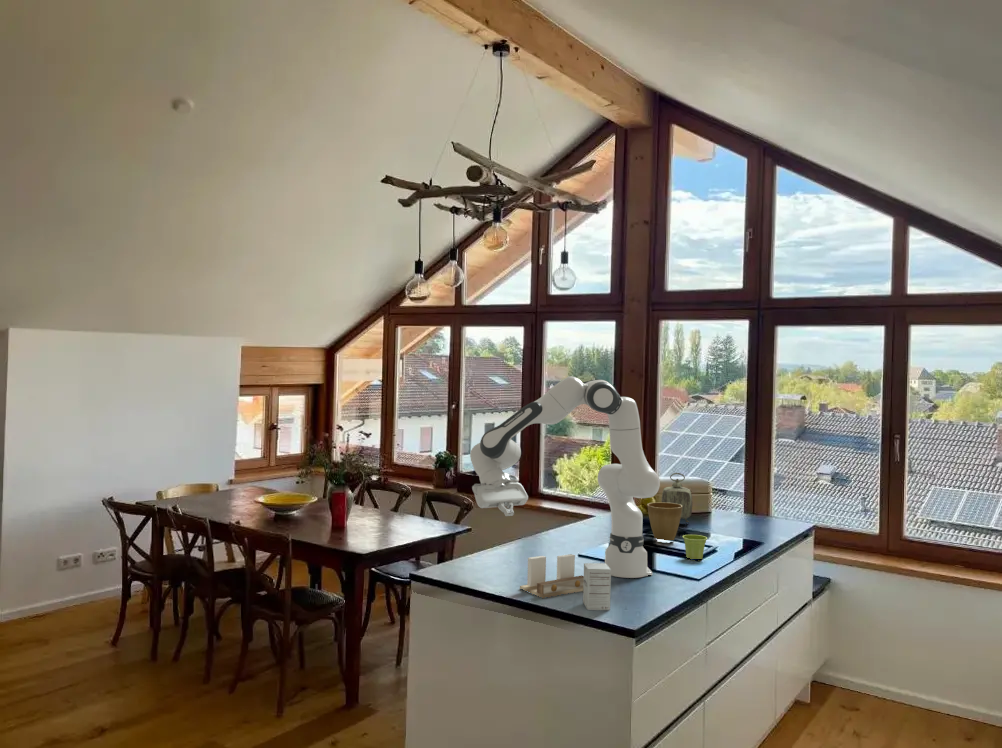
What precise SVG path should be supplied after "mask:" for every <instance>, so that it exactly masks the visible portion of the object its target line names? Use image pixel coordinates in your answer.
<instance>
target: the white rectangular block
mask: <svg viewBox="0 0 1002 748" xmlns="http://www.w3.org/2000/svg"><path fill="white" fill-rule="evenodd" d="M546 567H547V557H546V556H544V555H540V556H539V555H537V556H531V557H527V577H526V578H527V584H526V585H528V586H531V587H532V586H537V583H540V582H546V572H547V569H546Z"/></svg>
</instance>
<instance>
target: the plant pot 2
mask: <svg viewBox="0 0 1002 748" xmlns="http://www.w3.org/2000/svg"><path fill="white" fill-rule="evenodd" d="M682 538H683V541H684V548H685V555H686V556H685V557H687V558H690V559H702V560H703V557H704V551H705V546H706V543H707V540H708V537H707V536H704V535H699V534H685V535H684V534H683V535H682ZM687 558H686V559H687ZM690 559H689V560H690Z"/></svg>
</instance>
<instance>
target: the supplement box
mask: <svg viewBox="0 0 1002 748" xmlns="http://www.w3.org/2000/svg"><path fill="white" fill-rule="evenodd" d="M583 576H584V582H583V591H582V603H583V604H584V606H585V609H586V610H587V611H610V610H611V586H612V585H611V584H612V582H611V581H612V575H611V569H610V568H609V567H608V565H607V564H605V562H604V563H602V562H600V563H599V562H598V563H597V562H596V563H594V562H593V563H591V562H590V563H589V562H587V563H586V562H585V563H583Z"/></svg>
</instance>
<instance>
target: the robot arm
mask: <svg viewBox="0 0 1002 748" xmlns="http://www.w3.org/2000/svg"><path fill="white" fill-rule="evenodd" d="M582 405H586V406H588V407H589V408H590V409H591V410H594V411H595V412H598V413H603V414H606V415H607V417H608V429H609V444H610V445H609V446H610V450H611V452H612V453H613V454H614V455H615V456H616V457H617V459H618V460H619V462H620V463H610V464H605V465H603V466H601V468H600V469H599V471H598V474H597V482H598V486H599V487H600V489H602V491H603V492H604V494H605V495H606V499H607V501H608V504H609V507H610V512H611V513H610V515H611V520H610V521H611V524H610V525H611V528H610V529H611V532H610V534H609V546H607V547H606V549H605V551H604V557H605V558H604V563H605V564H607V565H608V567H609V568H610V569H611V577H616V578H617V577H618V578H625V579H626V578H627V579H629V578H630V579H634V578H635V579H637V578H643V577H649V576H648V575H651V576H653V571H652V570H651V569H650V568H649V567H648V564H649V563H648V551H647V550H646V549H645V548H644V546H643V545H644V540H645V539H644V535H643V525H644V524H643V523H644V522H643V519H644V518H643V516H644V515H643V513H642V511H641V509H640V508H639V507H638V506H637V505H636V502H635V500H634V498H637V499H647V498H648V499H650V498H653V497H655V496H656V495H657V493H658V492H659V490H660V487H661V481H660V477H659V474H658V473H657V472H656V471H655V470H654V469H653V468H652V467H651V465H650V464H649V462H648V461H647V458H646V455H645V452H644V450H643V443H642V434H641V420H640V414H639V409H638V405H637V402H636V400H634V399H633V398H631V397H629V396H621V395H620V394H619V392H618V391H617V389H616V387H615V386H613V385H612V384H611V383H610V382H608V381H607V380H604V379H597V378H596V379H591V380H587V381H582V380H580V378H578V377H577V376H574V375H573V376H572V375H569V376H567V377H565V378H564V379H562V380H560V381H559V382H557V383H555V384H554V386H552V387H551V388H550V389H549V390H548V391H547V392H545V393H544V394H543V395H542V396H541V397H539V398H538V399H536V400H534V401H532V402H530V403H528V404H525V405H524V406H523V407H521V408H520V409H519V410H517V411H516V412H515V413H513V414H512V415H511V416H510V417H508V418H507V419H506V420H504V421H503V422H502V423H500V424H499V425H497V426H494V427H492V428H490V429H488V430H487V431H485V432H484V434H483V435H482V436H481V439H480V442H479V443H477V444H475V445H473V447H472V448H471V450H470V453H469V454H470V455H469V457H470V461H471V464H472V467H473V469H474V472H475V473H476V475H477V476H478V477H479V482H480V483H474V484H473V485H472V486H471V489H472V492H473V494H474V499H475V502H476V504H477V506H478V507H479V508H480V509H488V508H489V509H490V508H498V509H499V511H501V513H503V514H504V516H505V517H510V516H512V517H513V516H514V515H515V511H514V506H524V505H526V503H527V502H528V500H529V495H528V493H527V492H526V490H525V488H524V485H522V483H521V482H519V481H520V479H519V477H518V476H517V475H512V474H509V473H506V472H504V470H506V469H509V468H511V467H513V466H515V465H516V464H517V463H518V462H519V461H520V458H521V455H522V449H521V446H520V445H519V444H518V443H517V442H516V441H514V440H513V439H512V438H514V437H515V436H517V435H518V434H519V433H520V432H522V431H523V430H524V429H526V427H529V426H530V425H533V424H544V425H548V426H549V425H550V426H551V425H556V424H558V423H560V422H562V420H564V419H565V418H567V416H568V415H569V414H570V413H572V412H573V411H574V410H575V409H576V408H577V407H579V406H582Z"/></svg>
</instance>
